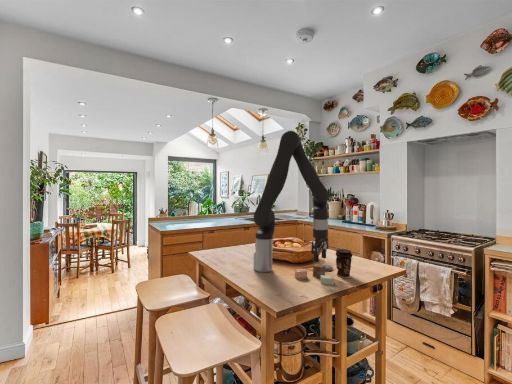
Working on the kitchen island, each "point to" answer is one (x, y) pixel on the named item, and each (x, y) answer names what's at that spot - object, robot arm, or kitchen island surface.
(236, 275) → the kitchen island surface
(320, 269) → the walnut block
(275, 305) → the kitchen island surface
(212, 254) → the kitchen island surface
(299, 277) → the small brown block
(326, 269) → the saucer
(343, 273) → the coffee cup
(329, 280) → the sage block
